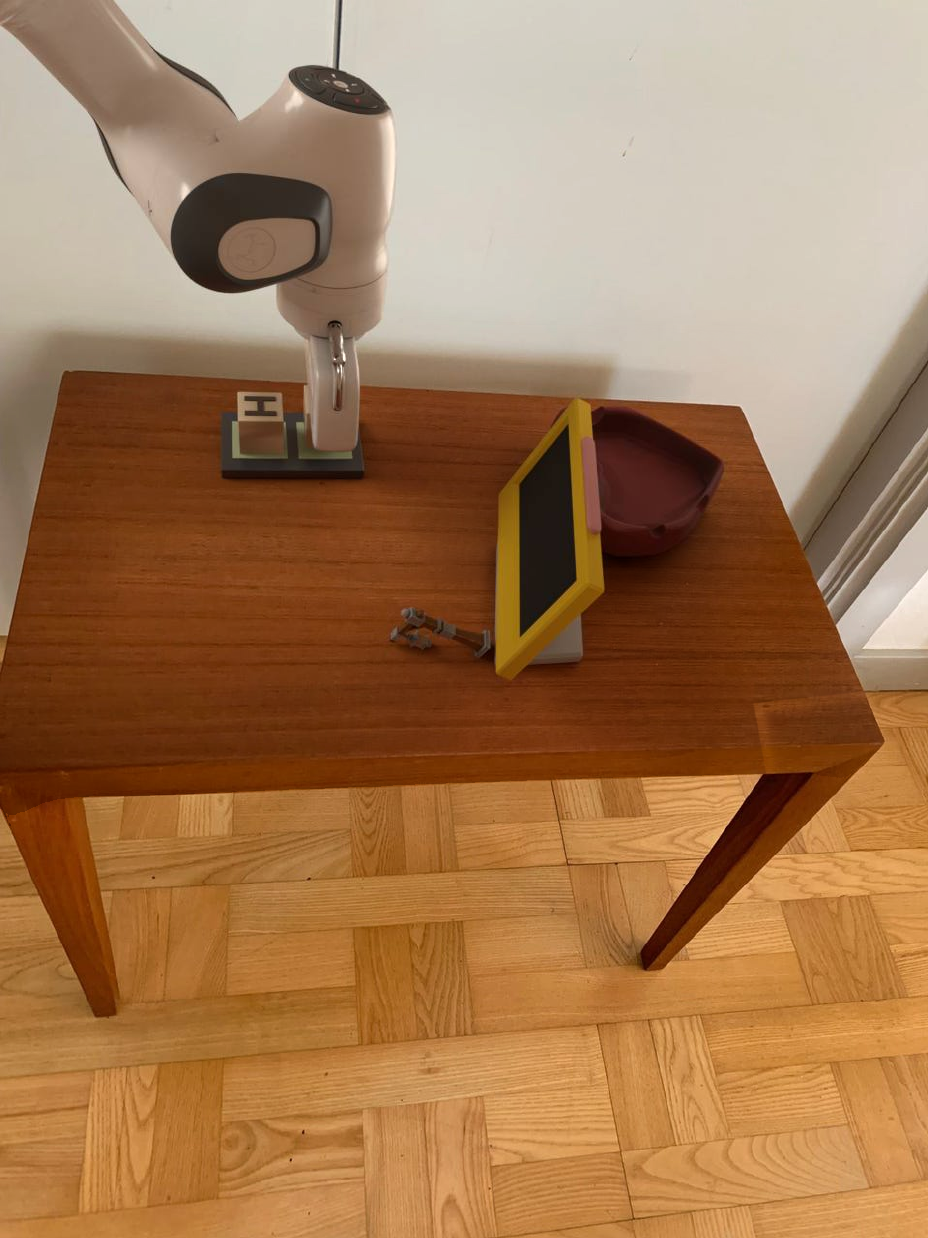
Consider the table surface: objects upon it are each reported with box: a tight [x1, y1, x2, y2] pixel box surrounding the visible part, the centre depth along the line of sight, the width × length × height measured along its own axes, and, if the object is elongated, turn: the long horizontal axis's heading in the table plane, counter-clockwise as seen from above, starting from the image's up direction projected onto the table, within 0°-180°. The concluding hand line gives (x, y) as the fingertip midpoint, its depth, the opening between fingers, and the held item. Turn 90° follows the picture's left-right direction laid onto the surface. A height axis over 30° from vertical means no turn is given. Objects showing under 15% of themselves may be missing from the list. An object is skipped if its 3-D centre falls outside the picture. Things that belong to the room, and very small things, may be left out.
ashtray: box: [549, 405, 725, 557], centre depth 90 cm, size 18×16×5 cm
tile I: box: [302, 384, 314, 447], centre depth 86 cm, size 4×4×4 cm
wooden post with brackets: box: [388, 606, 491, 659], centre depth 76 cm, size 2×8×4 cm, turn 91°
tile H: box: [237, 391, 284, 454], centre depth 85 cm, size 4×4×4 cm
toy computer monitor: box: [493, 397, 605, 681], centre depth 75 cm, size 20×8×16 cm, turn 178°
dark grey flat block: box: [220, 411, 365, 479], centre depth 88 cm, size 13×8×1 cm, turn 99°
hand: (325, 419), depth 86 cm, fingers closed on tile I, 4 cm apart
